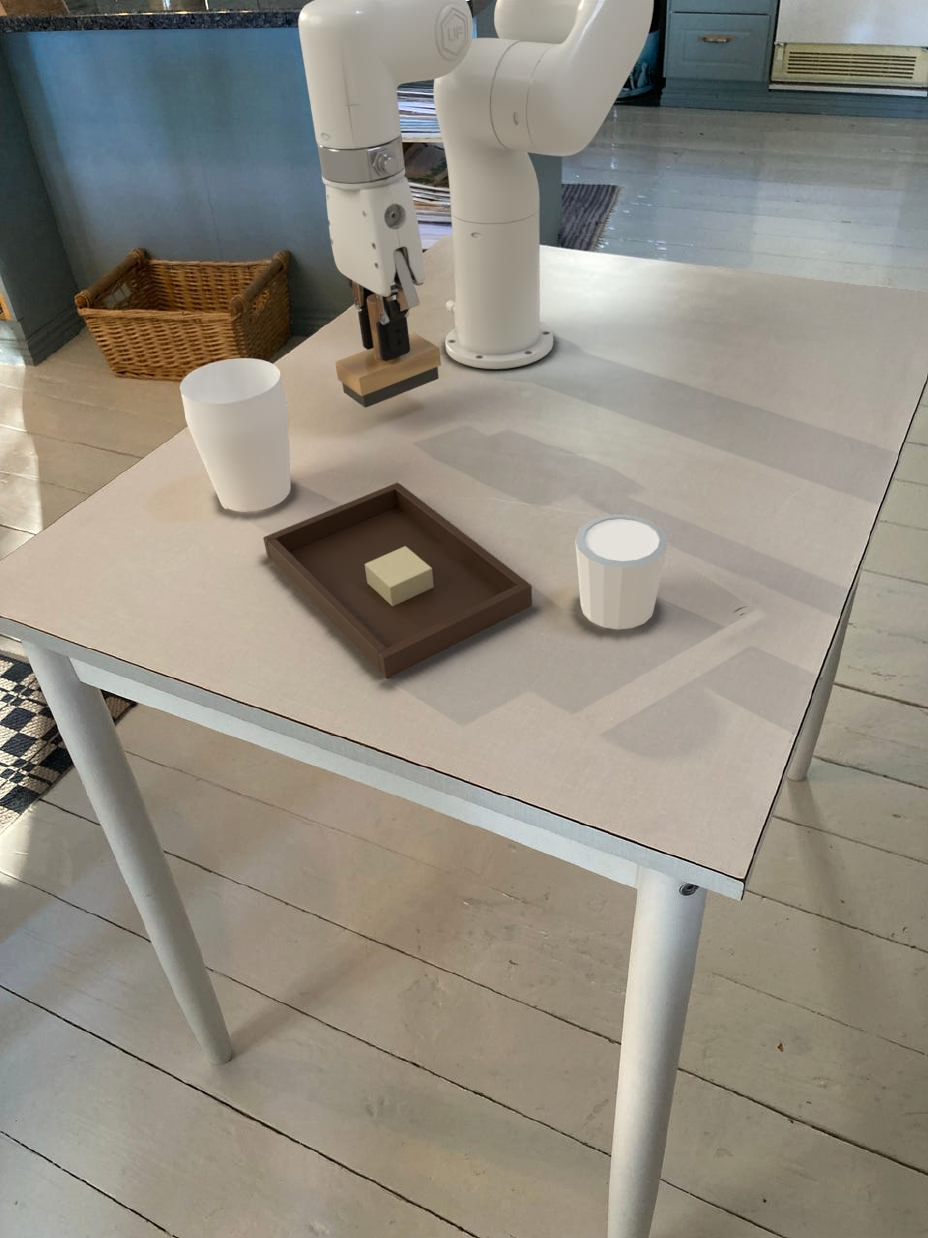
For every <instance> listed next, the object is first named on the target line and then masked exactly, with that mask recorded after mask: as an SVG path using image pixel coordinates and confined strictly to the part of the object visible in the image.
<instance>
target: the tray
mask: <svg viewBox="0 0 928 1238" xmlns="http://www.w3.org/2000/svg"><path fill="white" fill-rule="evenodd" d="M262 538H263V543H264V547H265V553H266V556H267V558H268V559H269V560H270V561H271V563H273V564H274V565H275V567H276V568H278V569H279V571H280V572H281V573H283V574H284V575H285V577H286V578H287V579H289V581H290V582H291V583H292V584H293V585H294V586H295V587H296V589H298V590H299V591H300V592H301V594H303V595H304V597H306V598H307V599H308V600H309V602H311V603H312V604H313V606H315V608H316V609H317V610H318V611H319V612H320V613H322V615H323V616H324V617H325V618H326V620H328V621H329V622H330V623H331V624H332V625H333V626H334V627H335V628H336V629H337V630H338V631H339V632H340V633H341V635H342V636H344V637H345V638H346V639H347V640H348V642H350V644H352V645H353V647H355V648H356V649H357V651H358V652H359V653H360V654H361V655H362V656H363V657H364V658H365V659H366V660H367V661H368V662H369V664H371V665H372V666H373V667H374V668H375V669H376V670H377V671H378V672H379V673H380V674H381V675H382V676H383V677H384V678H385V679H386V680H388V679H389V678H392V677H393V676H395V675H397V674H399V673H401V672H404V671H405V670H407V669H409V668H411V667H413V666H415V665H417V664H419V663H421V662H424V661H425V660H427V659H429V658H431V657H434V656H436V655H437V654H439V653H441V652H443V651H445V650H447V649H449V648H451V647H453V646H455V645H457V644H459V643H461V642H463V641H465V640H468V639H470V638H471V637H473V636H475V635H478V634H479V633H481V632H483V631H485V630H487V629H489V628H491V627H493V626H495V625H497V624H499V623H501V622H503V621H505V620H507V619H509V618H511V617H512V616H515V615H517V614H519V613H521V612H523V611H525V610H527V609H528V608H531V607H532V606H533V589H532V587H533V586H532V584H530V583H529V582H528V581H526V579H524V578H523V577H522V576H520V575H519V574H517V573H516V572H515V571H513V569H511V568H510V567H508V566H507V565H506V564H504V563H503V562H502V561H501V560H499V559H498V558H497V557H495V556H494V555H493V554H492V553H491V552H489V551H487V550H486V548H484V547H483V546H481V545H480V544H479V543H477V542H476V541H475V540H474V539H472V538H471V537H469V536H468V535H467V534H466V533H464V531H462V530H461V529H459V528H458V527H457V526H456V525H454V524H453V523H452V522H451V521H449V520H447V518H445V517H444V516H443V515H441V514H440V513H439V512H437V511H436V510H435V509H433V508H432V507H431V506H429V504H427V503H426V502H424V501H423V500H422V499H420V498H419V497H418V496H416V494H414V493H413V492H411V491H410V490H409V489H408V488H406V487H405V486H403V485H402V484H401V483H399V482H394V483H392V484H390V485H387V486H385V487H382V488H380V489H378V490H375V491H373V492H371V493H368V494H365V495H363V496H361V497H357V498H356V499H354V500H351V501H348V502H346V503H344V504H342V505H338V506H336V507H334V508H331V509H329V510H326V511H323V512H322V513H320V514H316V515H314V516H311V517H309V518H306V519H305V520H302V521H299V522H297V523H294V524H293V525H290V526H287V527H285V528H282V529H280V530H278V531H275V532H273V533H270V534H268V535H265V536H263V537H262ZM404 546H406V547H407V548H408V549H410V550H411V551H412V552H413V553H414V554H416V555H417V556H418V557H419V558H420V559H422V560H423V561H424V562H425V563H426V564H427V565H429V566H430V567H431V568H432V575H433V586H434V587H433V588H431V589H429V590H427V591H425V592H423V593H421V594H418V595H416V596H414V597H412V598H410V599H408V600H406V601H404V602H401V603H399V604H397V605H395V606H391V605H390V604H389V603H388V602H387V601H386V600H385V599H384V598H383V597H382V596H381V595H380V594H379V593H378V592H376V591H375V590H374V589H373V588H372V587H371V586H370V585H369V584H368V583H367V577H366V570H365V564H366V563H368V562H370V561H373V560H375V559H377V558H379V557H382V556H384V555H386V554H388V553H391V552H393V551H395V550H398V549H400V548H402V547H404Z"/></svg>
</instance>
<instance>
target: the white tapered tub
mask: <svg viewBox="0 0 928 1238" xmlns="http://www.w3.org/2000/svg"><path fill="white" fill-rule="evenodd" d="M574 543H575V554H576V566H577V567H576V568H577V577H578V578H577V579H578V591H579V600H580V607H581V611H582V614H583V615H584V616H585V617H586V618H587V620H589V621H590V622H591V623H593V624H595V625H598V626H600V627H601V628H606V629H611V630H626V629H633V628H636V627H638V626H641V625H644V624H645V623H646V622H647V621H648V620H649V619H650V618H652V616H653V614H654V610H655V606H656V602H657V597H658V592H659V587H660V582H661V577H662V572H663V568H664V563H665V558H666V554H667V549H668V544H669V540H668V537H667V535H666V532H665V530H664V529H662V528H661V526H659V525H658V524H656V523H655V522H654V521H652V520H649V519H646V518H644V517H641V516H638V515H631V514H623V513H618V514H609V515H608V514H607V515H601V516H598V517H597V518H594V519H591V520H588V521H587V522H586V523H585V524H583V525H582V526H581V527H580V528H578V530H577V533H576V536H575V539H574Z"/></svg>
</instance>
